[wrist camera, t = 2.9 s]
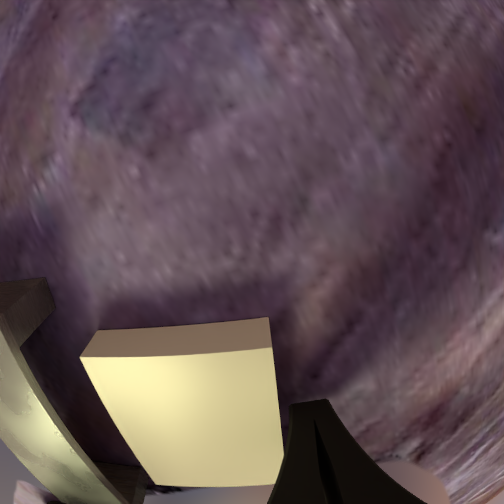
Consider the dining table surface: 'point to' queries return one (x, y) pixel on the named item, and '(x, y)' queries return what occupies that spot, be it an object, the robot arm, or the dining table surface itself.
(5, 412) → the overhang
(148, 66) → the dining table surface
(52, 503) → the coffee jar
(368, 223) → the dining table surface
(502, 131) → the dining table surface
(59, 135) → the dining table surface
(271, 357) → the cream sticky note pad
